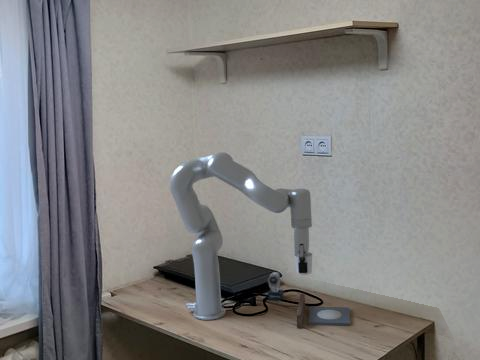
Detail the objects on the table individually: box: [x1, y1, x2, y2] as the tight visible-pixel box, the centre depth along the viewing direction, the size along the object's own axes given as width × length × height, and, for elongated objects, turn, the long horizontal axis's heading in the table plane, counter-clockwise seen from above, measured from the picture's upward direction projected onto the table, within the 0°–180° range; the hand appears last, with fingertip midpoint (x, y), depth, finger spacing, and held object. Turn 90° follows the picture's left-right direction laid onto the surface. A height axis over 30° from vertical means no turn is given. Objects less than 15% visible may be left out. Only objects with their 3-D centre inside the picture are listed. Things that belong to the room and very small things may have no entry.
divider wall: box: [296, 292, 306, 329], centre depth 202 cm, size 2×22×5 cm, turn 170°
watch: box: [267, 271, 285, 302], centre depth 222 cm, size 6×8×11 cm
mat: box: [307, 306, 351, 327], centre depth 201 cm, size 15×15×1 cm
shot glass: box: [293, 251, 313, 276], centre depth 200 cm, size 7×7×7 cm
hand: (303, 269), depth 200 cm, fingers closed on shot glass, 6 cm apart
